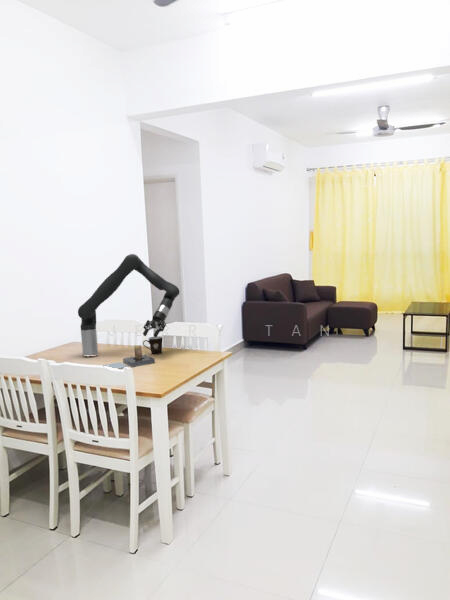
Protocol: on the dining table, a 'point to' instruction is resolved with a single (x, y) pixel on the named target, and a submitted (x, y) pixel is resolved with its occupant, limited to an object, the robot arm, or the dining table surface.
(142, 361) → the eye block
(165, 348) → the dining table surface
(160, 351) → the coffee mug
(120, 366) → the slate pad
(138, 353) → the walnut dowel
